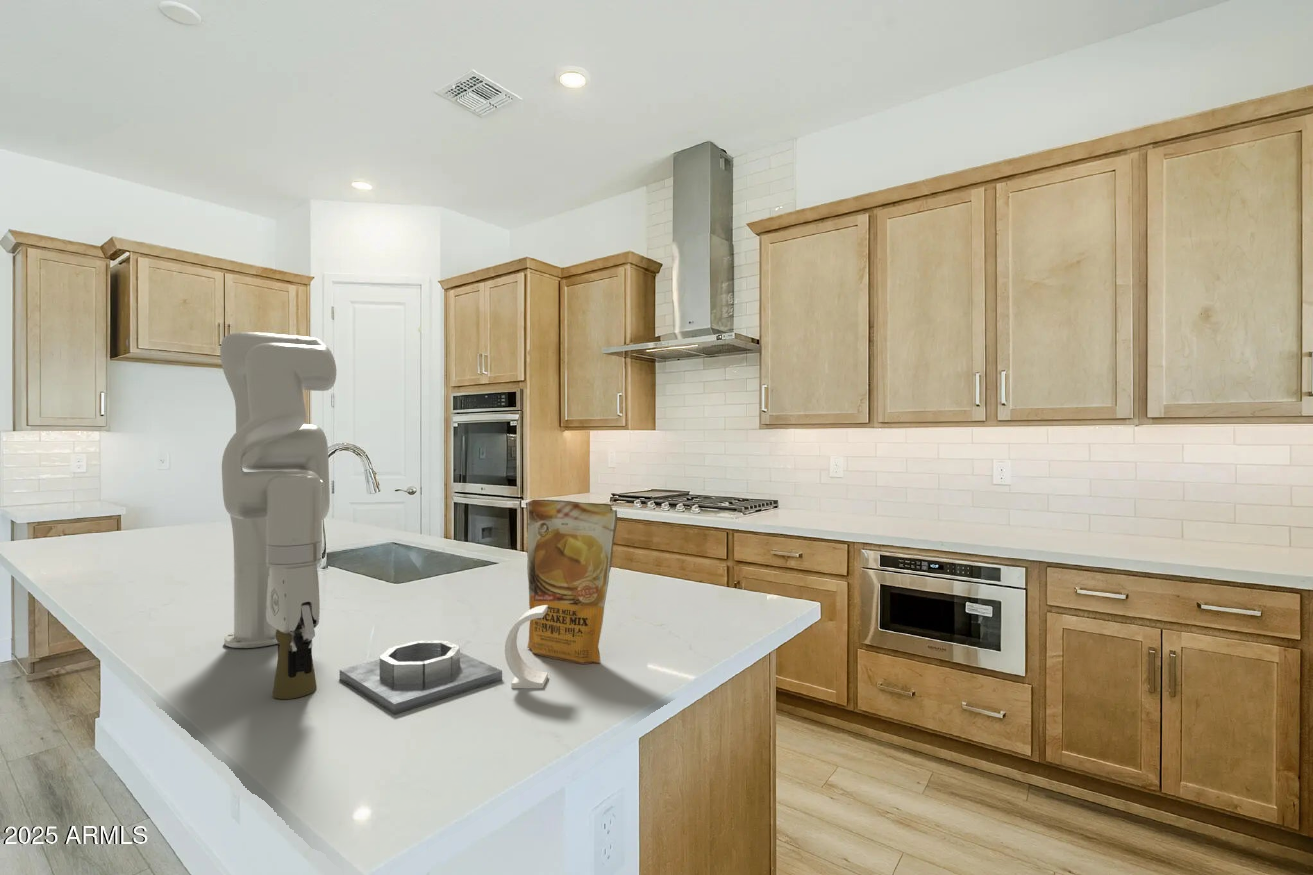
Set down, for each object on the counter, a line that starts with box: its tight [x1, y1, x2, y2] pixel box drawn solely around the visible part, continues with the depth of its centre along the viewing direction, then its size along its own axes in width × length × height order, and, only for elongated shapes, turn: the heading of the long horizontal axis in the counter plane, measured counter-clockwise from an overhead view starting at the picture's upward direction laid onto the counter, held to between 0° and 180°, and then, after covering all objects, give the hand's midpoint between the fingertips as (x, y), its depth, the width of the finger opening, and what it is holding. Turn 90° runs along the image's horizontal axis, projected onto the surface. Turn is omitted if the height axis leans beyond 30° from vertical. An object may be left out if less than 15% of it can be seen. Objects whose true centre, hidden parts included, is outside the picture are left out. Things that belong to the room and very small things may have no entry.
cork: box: [272, 625, 318, 700], centre depth 101 cm, size 6×6×11 cm
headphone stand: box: [504, 605, 549, 689], centre depth 104 cm, size 5×6×12 cm
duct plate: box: [339, 640, 503, 715], centre depth 106 cm, size 20×18×4 cm
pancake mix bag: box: [525, 499, 618, 665], centre depth 118 cm, size 7×19×28 cm, turn 61°
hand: (294, 669), depth 101 cm, fingers closed on cork, 3 cm apart
